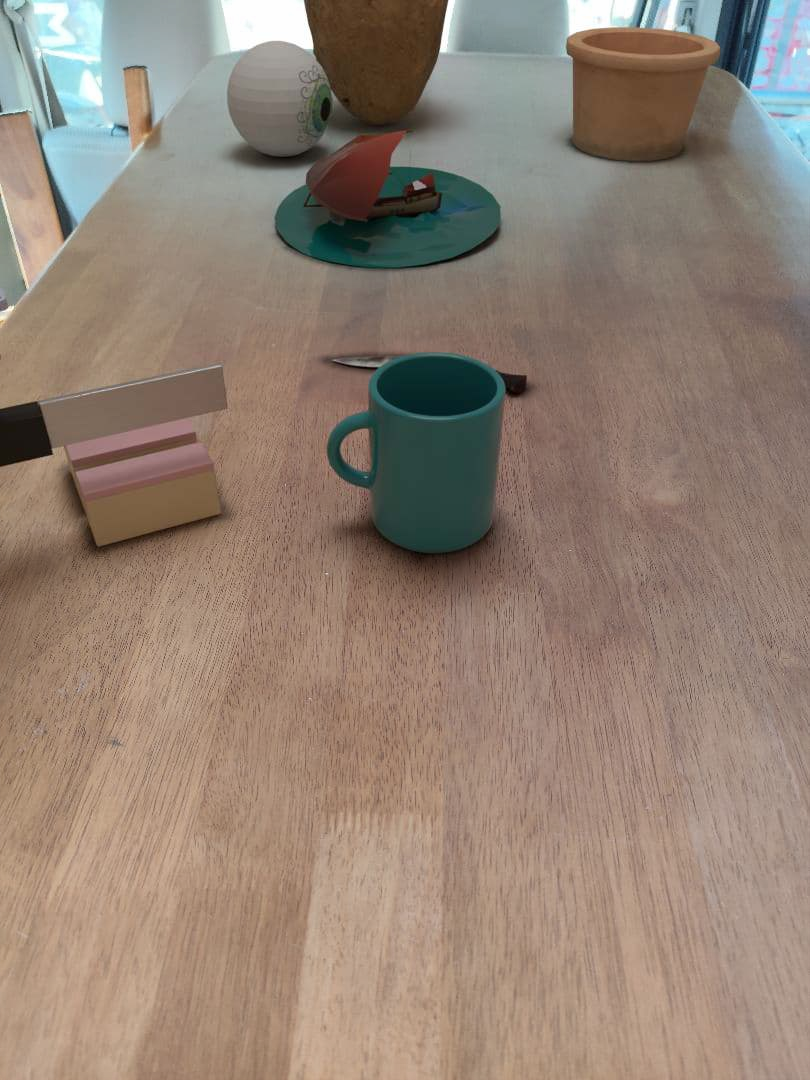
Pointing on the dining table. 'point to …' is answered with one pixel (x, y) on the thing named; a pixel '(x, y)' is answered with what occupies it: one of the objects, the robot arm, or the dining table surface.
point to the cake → (128, 446)
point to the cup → (429, 450)
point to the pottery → (636, 89)
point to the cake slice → (149, 493)
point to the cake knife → (108, 412)
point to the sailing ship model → (384, 209)
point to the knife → (510, 380)
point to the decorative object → (279, 98)
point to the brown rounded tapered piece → (377, 52)
